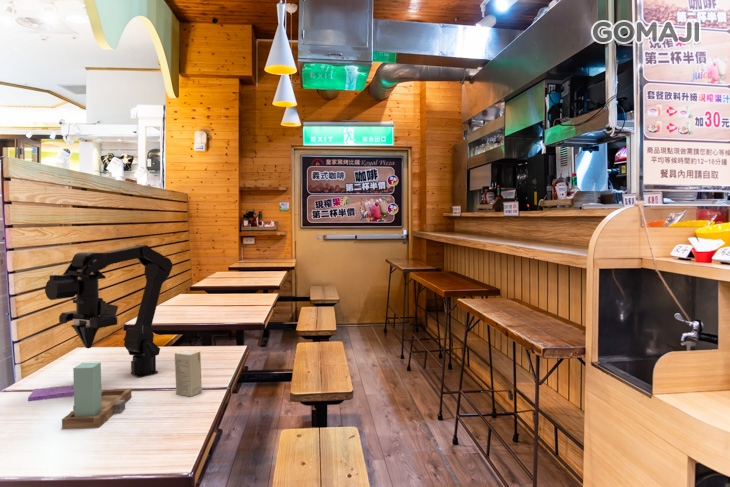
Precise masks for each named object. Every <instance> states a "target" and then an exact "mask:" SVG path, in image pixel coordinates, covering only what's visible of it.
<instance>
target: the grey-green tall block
mask: <svg viewBox="0 0 730 487" xmlns="http://www.w3.org/2000/svg"><path fill="white" fill-rule="evenodd" d="M73 385H74V396H73V406H74V417H85V416H96V415H98V414H99V413H100V412H101V410H102V401H101V390H102V363H101V362H100V361H99V362H82V363H80V364H78V365H76V366H75V367H73Z"/></svg>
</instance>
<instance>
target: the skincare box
mask: <svg viewBox="0 0 730 487" xmlns="http://www.w3.org/2000/svg"><path fill="white" fill-rule="evenodd" d="M201 356H202V355H201V351H198V350H190V349H184V350H183V349H182V350H180V351H177V352H175V353H174V372H175V394H176V395H181V396H186V397H193V396H196V395H198V394H201V393H202V392H203V390H202V387H203V384H202V364H201V363H202V361H201V360H202V358H201Z"/></svg>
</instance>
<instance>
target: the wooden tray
mask: <svg viewBox="0 0 730 487" xmlns="http://www.w3.org/2000/svg"><path fill="white" fill-rule="evenodd" d="M132 397H133V396H132V389H131V388H129V389H127V388H123V389H122V388H121V389H101V401H102V410H101V412H100V413H99V414H98V415H96V416H85V417H74V405H73V406H72V407H73V410H71V411H70V412H69V413H68V414H67V415H65V416H64V417H63V418H61V430H73V429H75V430H76V429H98V428H100V427H101V426H103V425H104V424H105V422H108V421H109V419H110V418H111V417H113V415H115V414H122V413H123V412H124V411H125V410H126V403H127V402H128V401H129V400H131V398H132Z"/></svg>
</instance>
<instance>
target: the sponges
mask: <svg viewBox="0 0 730 487" xmlns="http://www.w3.org/2000/svg"><path fill="white" fill-rule="evenodd" d="M70 397H74V384H71V385H62V386H61V385H59V386H51V387H42V388H34V389H33V391H32V392H31V393H30V395H29V396H27V402H32V401H33V402H34V401H41V400H42V401H43V399H44V400H51V399H60V398H70Z"/></svg>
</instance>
